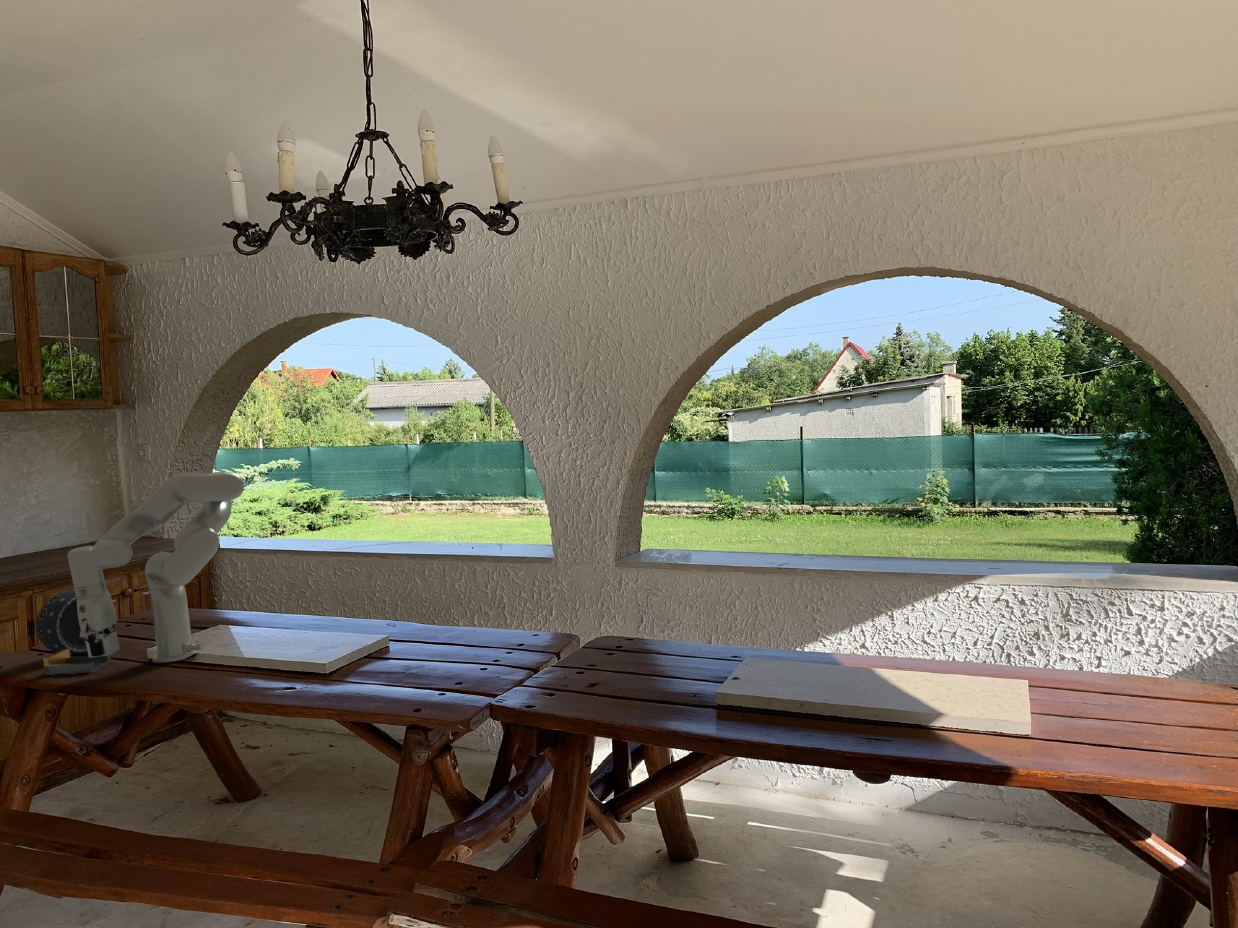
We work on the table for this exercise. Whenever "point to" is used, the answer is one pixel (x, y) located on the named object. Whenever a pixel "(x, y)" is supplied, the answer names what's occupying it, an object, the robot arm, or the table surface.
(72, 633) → the dark grey studded drum
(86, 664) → the coupler bracket
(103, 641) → the grey cube
